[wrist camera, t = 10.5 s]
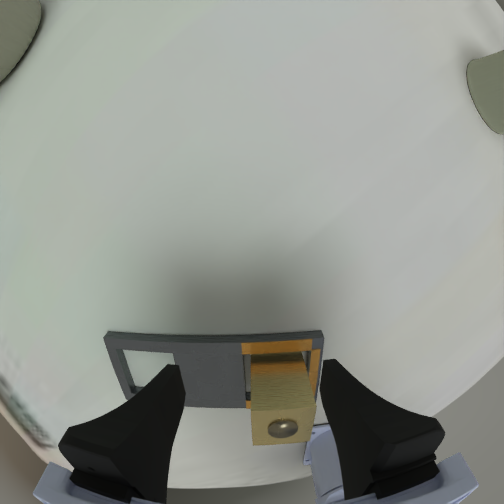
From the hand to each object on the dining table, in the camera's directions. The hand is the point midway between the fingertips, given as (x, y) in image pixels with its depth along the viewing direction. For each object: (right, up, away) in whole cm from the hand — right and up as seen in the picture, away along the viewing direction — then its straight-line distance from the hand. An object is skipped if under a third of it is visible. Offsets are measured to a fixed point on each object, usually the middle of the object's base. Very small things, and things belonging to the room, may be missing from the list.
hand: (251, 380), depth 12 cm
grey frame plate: (-4, -5, +11) cm, 13 cm away
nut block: (+2, -5, +11) cm, 13 cm away
